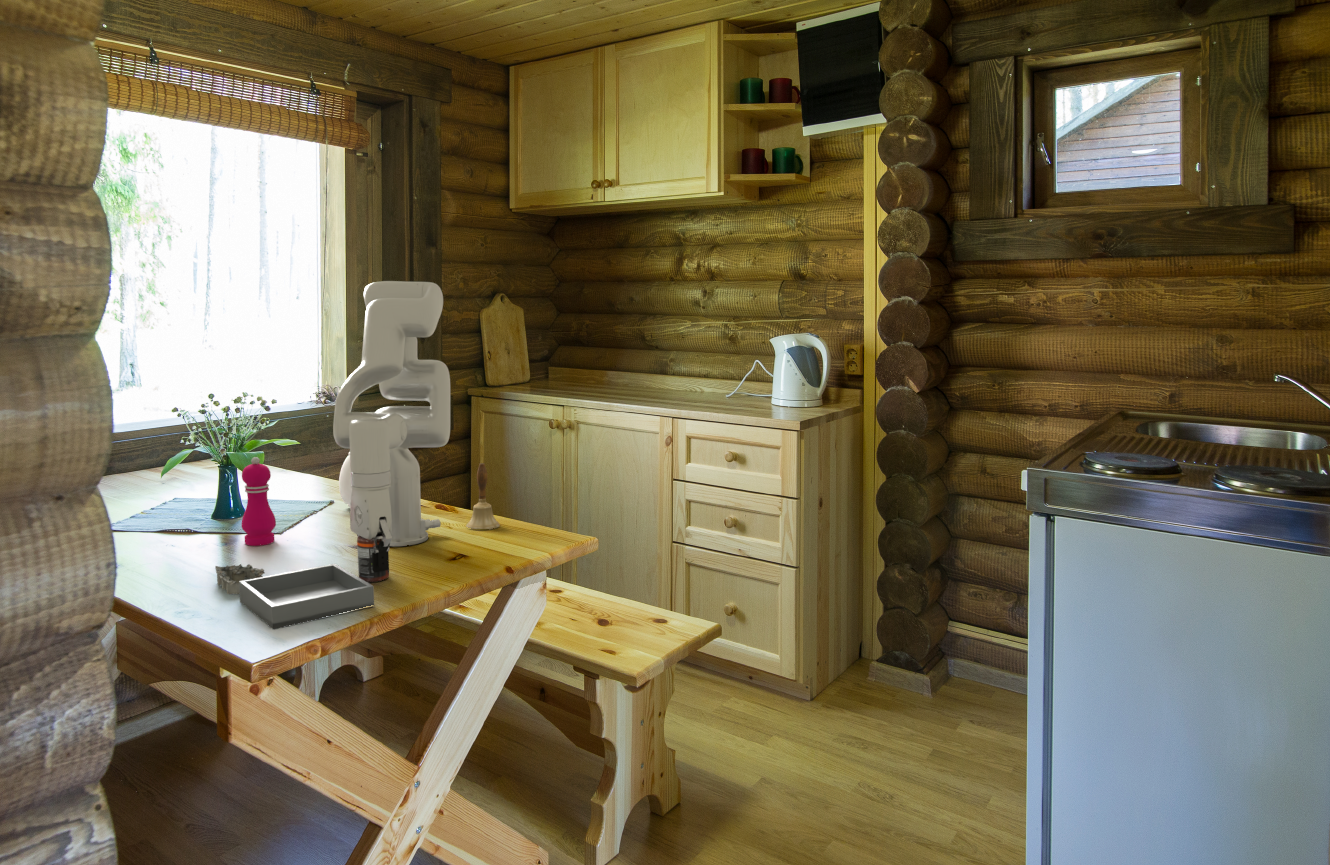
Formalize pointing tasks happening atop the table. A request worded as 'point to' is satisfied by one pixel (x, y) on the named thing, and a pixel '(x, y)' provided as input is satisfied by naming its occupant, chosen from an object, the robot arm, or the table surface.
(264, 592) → the tray
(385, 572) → the supplement bottle
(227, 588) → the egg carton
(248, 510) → the pepper mill
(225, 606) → the table surface
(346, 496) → the air blower bulb
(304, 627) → the table surface
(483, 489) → the hand bell
